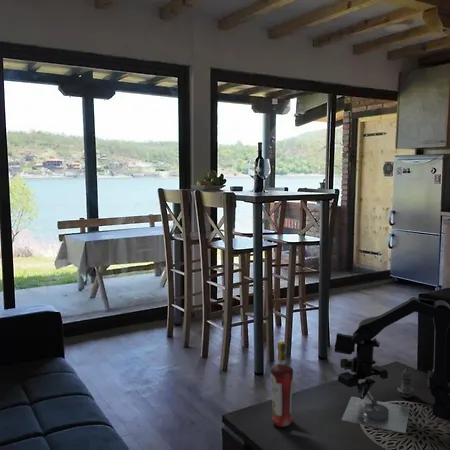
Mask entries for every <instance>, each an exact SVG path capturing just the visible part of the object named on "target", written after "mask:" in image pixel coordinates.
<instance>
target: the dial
mask: <svg viewBox="0 0 450 450" xmlns="http://www.w3.org/2000/svg"><path fill="white" fill-rule="evenodd" d="M364 400H365V401H366V403H367V404H366V405H365V406H364V415H365V416H366V417H367V418H369V419H371V420H375V421H383V420H386V419H388V417H389V410H388V408H387V407H385V406H383V405H381V404H377V401H378V400H377V399H376V398H375V397H374V395H372V393H371V391H370V390H369V391H368V392H367V394H366V396H365V397H364Z"/></svg>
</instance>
